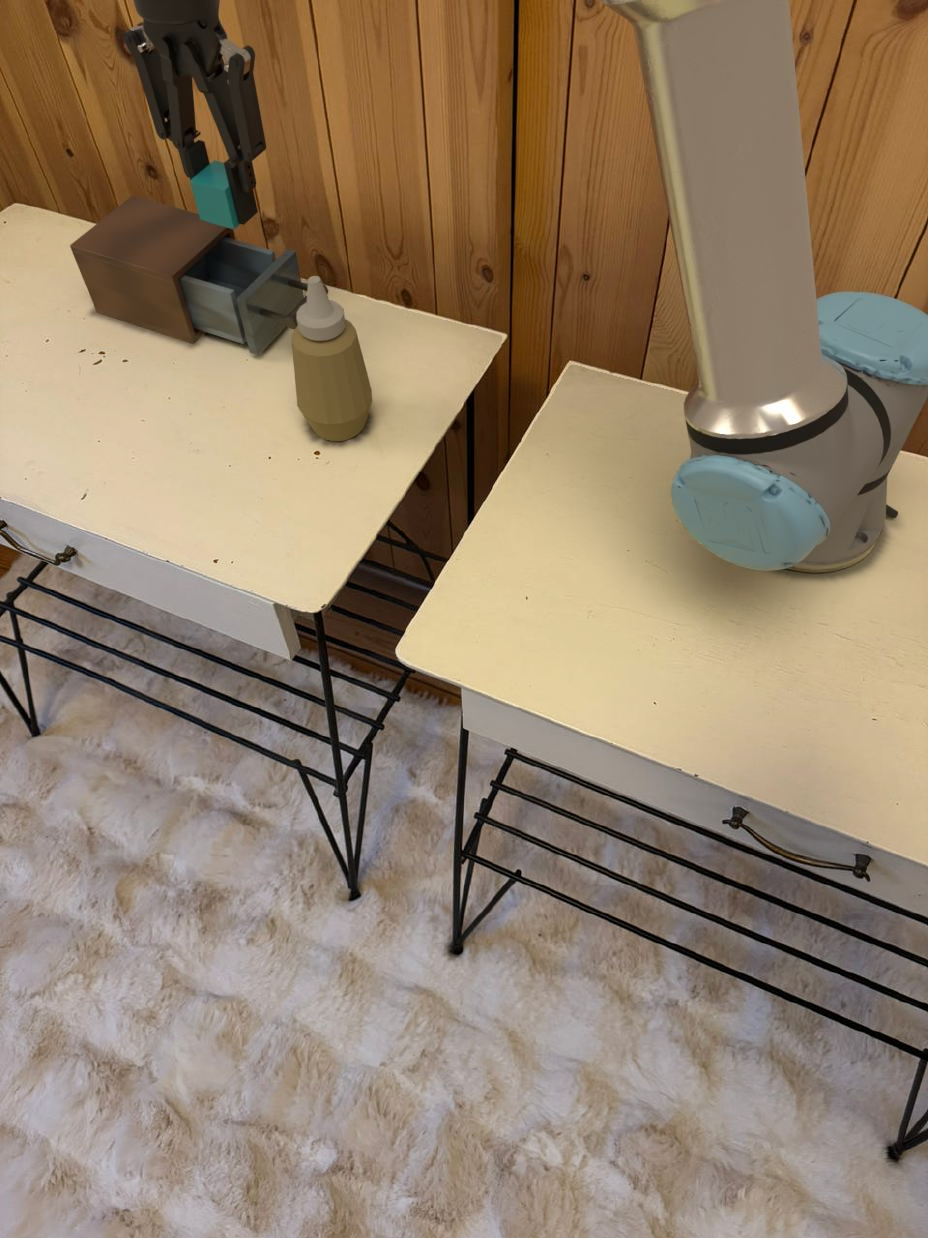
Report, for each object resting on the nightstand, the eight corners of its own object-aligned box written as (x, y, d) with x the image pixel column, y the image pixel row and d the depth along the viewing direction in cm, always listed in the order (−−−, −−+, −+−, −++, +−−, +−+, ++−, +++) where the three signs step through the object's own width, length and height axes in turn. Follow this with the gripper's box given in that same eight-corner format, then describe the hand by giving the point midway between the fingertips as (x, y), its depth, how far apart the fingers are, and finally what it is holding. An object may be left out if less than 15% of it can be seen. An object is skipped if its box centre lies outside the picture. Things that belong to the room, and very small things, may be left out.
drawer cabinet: (248, 290, 115) (231, 222, 108) (193, 344, 109) (172, 276, 102) (154, 261, 119) (132, 194, 112) (96, 312, 113) (69, 245, 106)
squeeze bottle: (381, 400, 103) (363, 255, 88) (369, 451, 98) (349, 307, 83) (310, 397, 103) (281, 252, 88) (295, 447, 99) (262, 304, 84)
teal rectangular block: (257, 208, 99) (248, 168, 96) (234, 229, 97) (224, 189, 94) (223, 199, 101) (214, 159, 97) (200, 219, 98) (189, 180, 95)
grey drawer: (341, 315, 110) (332, 261, 104) (295, 367, 105) (283, 313, 99) (214, 277, 115) (199, 223, 109) (164, 325, 110) (145, 270, 104)
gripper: (275, -42, 79) (315, 212, 98) (115, -72, 84) (183, 176, 103) (225, -8, 75) (277, 249, 94) (60, -41, 80) (141, 210, 99)
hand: (228, 211), depth 99 cm, fingers closed on teal rectangular block, 4 cm apart
